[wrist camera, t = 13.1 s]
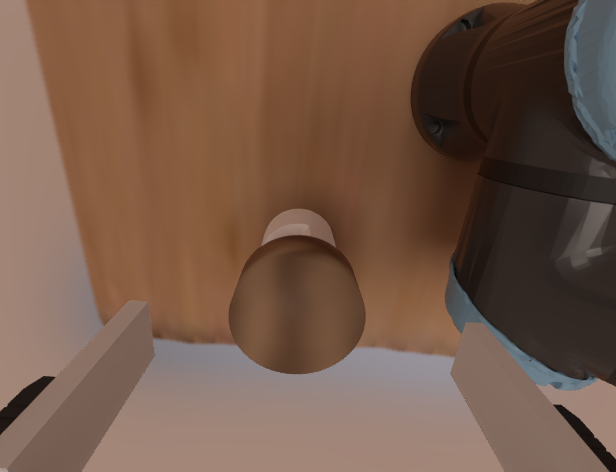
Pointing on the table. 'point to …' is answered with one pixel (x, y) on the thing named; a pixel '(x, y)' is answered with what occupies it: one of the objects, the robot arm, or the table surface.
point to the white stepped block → (298, 226)
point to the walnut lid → (297, 306)
